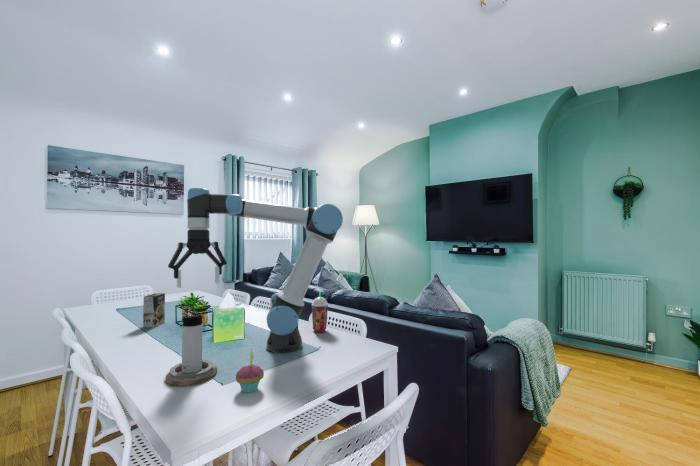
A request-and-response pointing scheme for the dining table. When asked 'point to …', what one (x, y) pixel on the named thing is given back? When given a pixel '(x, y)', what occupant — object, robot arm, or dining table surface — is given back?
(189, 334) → the travel mug
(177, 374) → the plate
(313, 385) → the dining table surface
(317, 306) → the smoothie
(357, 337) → the dining table surface
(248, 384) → the cupcake
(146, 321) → the coffee box
